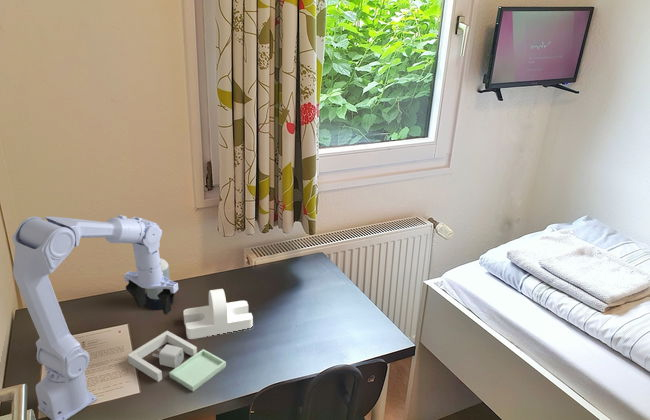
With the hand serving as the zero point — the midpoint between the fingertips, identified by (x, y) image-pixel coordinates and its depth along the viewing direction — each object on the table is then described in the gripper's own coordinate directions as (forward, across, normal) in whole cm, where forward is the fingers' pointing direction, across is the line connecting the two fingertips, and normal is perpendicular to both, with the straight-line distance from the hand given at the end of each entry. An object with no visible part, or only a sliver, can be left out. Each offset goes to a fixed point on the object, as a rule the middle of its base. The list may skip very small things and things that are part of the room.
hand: (154, 308), depth 133 cm
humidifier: (+11, +10, -15) cm, 21 cm away
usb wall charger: (+10, -7, +6) cm, 14 cm away
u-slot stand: (+11, -11, -12) cm, 20 cm away
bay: (+10, -6, +6) cm, 13 cm away
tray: (+10, -16, +7) cm, 20 cm away
